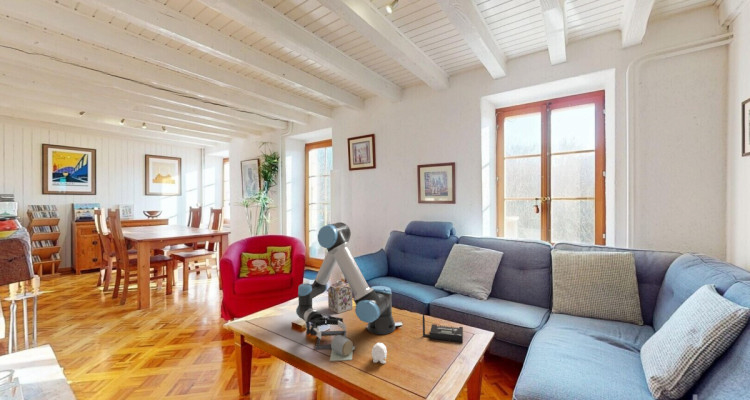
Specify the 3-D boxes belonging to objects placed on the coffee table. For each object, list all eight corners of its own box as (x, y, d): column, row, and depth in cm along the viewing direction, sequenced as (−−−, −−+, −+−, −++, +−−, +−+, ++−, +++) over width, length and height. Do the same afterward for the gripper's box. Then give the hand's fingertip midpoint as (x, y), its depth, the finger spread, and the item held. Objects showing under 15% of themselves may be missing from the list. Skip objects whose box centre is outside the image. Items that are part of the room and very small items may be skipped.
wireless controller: (462, 332, 167) (462, 300, 166) (462, 345, 154) (462, 310, 153) (425, 329, 172) (424, 298, 172) (421, 341, 159) (421, 307, 159)
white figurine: (370, 345, 137) (376, 335, 149) (370, 365, 137) (376, 353, 148) (384, 346, 136) (389, 336, 147) (384, 366, 135) (389, 355, 147)
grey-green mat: (352, 348, 152) (352, 348, 152) (352, 360, 142) (352, 359, 142) (332, 349, 151) (332, 348, 151) (329, 360, 141) (329, 360, 141)
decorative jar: (343, 304, 212) (342, 277, 211) (353, 309, 203) (352, 281, 202) (327, 308, 204) (326, 281, 204) (337, 314, 195) (336, 285, 195)
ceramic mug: (343, 359, 141) (343, 342, 141) (330, 354, 147) (330, 337, 146) (359, 350, 150) (358, 334, 149) (346, 345, 155) (346, 329, 155)
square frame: (346, 333, 169) (346, 330, 169) (344, 348, 153) (344, 345, 153) (320, 334, 168) (320, 331, 168) (315, 349, 152) (315, 346, 152)
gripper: (333, 318, 176) (354, 331, 160) (291, 331, 161) (309, 347, 144) (333, 305, 176) (354, 317, 159) (291, 317, 161) (309, 331, 144)
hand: (333, 331), depth 152 cm, fingers open, 13 cm apart
